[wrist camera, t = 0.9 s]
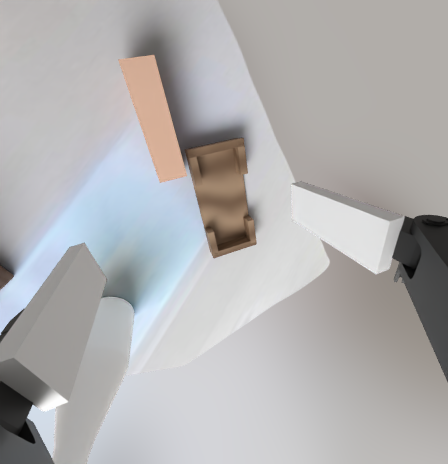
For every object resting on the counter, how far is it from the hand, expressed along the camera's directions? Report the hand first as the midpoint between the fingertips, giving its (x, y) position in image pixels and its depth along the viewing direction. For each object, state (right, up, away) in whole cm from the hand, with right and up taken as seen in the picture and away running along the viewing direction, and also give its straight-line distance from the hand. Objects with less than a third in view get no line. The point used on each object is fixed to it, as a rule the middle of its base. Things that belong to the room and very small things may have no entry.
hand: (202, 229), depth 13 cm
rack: (+1, +6, +26) cm, 27 cm away
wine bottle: (-22, -17, +29) cm, 40 cm away
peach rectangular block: (-9, +16, +18) cm, 26 cm away
